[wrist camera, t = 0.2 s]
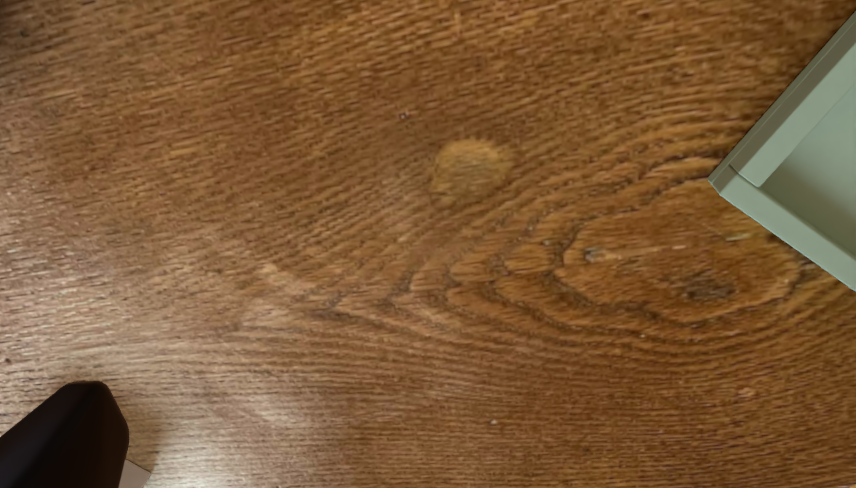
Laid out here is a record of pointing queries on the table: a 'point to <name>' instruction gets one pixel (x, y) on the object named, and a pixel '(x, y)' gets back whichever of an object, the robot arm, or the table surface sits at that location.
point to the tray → (805, 161)
